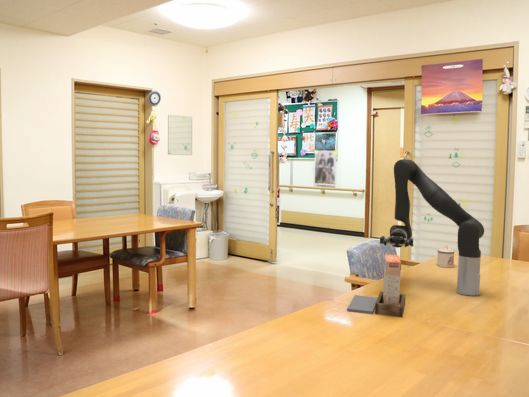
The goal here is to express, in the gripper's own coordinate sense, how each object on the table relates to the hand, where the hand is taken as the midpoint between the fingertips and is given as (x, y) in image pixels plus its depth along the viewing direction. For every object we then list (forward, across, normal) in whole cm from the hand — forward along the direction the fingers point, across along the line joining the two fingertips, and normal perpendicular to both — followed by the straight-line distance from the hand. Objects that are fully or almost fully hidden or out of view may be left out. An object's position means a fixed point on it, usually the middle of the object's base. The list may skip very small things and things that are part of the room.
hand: (395, 243), depth 209 cm
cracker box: (+15, 0, +24) cm, 28 cm away
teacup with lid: (-76, +23, +24) cm, 83 cm away
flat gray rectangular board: (+15, -11, +24) cm, 30 cm away
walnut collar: (+15, 0, +24) cm, 28 cm away
